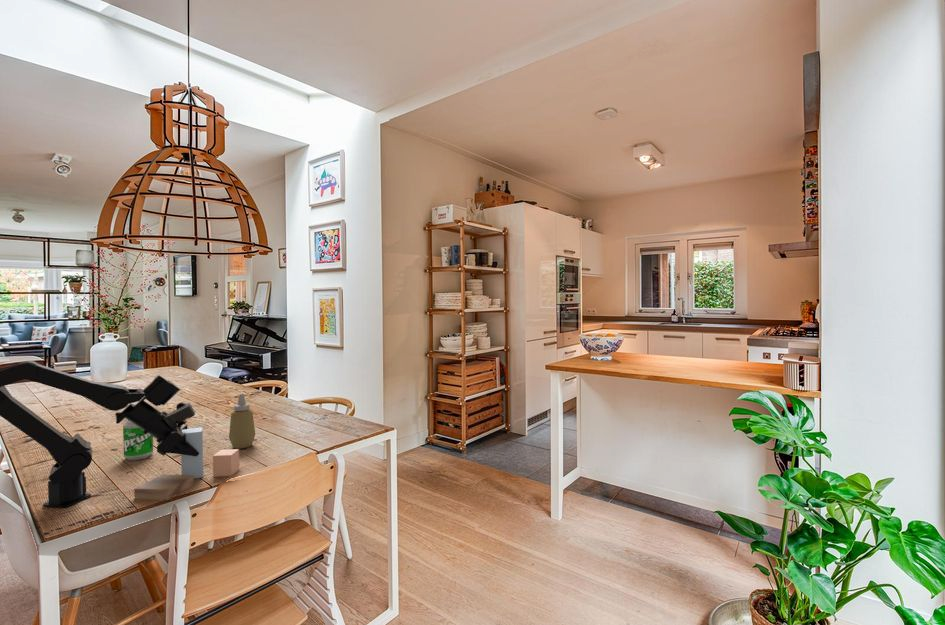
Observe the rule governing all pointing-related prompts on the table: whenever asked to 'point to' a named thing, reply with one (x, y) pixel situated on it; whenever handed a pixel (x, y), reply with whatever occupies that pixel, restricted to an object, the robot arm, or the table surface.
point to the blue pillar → (193, 463)
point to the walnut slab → (164, 487)
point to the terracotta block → (226, 462)
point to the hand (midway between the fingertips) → (198, 451)
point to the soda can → (136, 442)
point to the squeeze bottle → (241, 425)
